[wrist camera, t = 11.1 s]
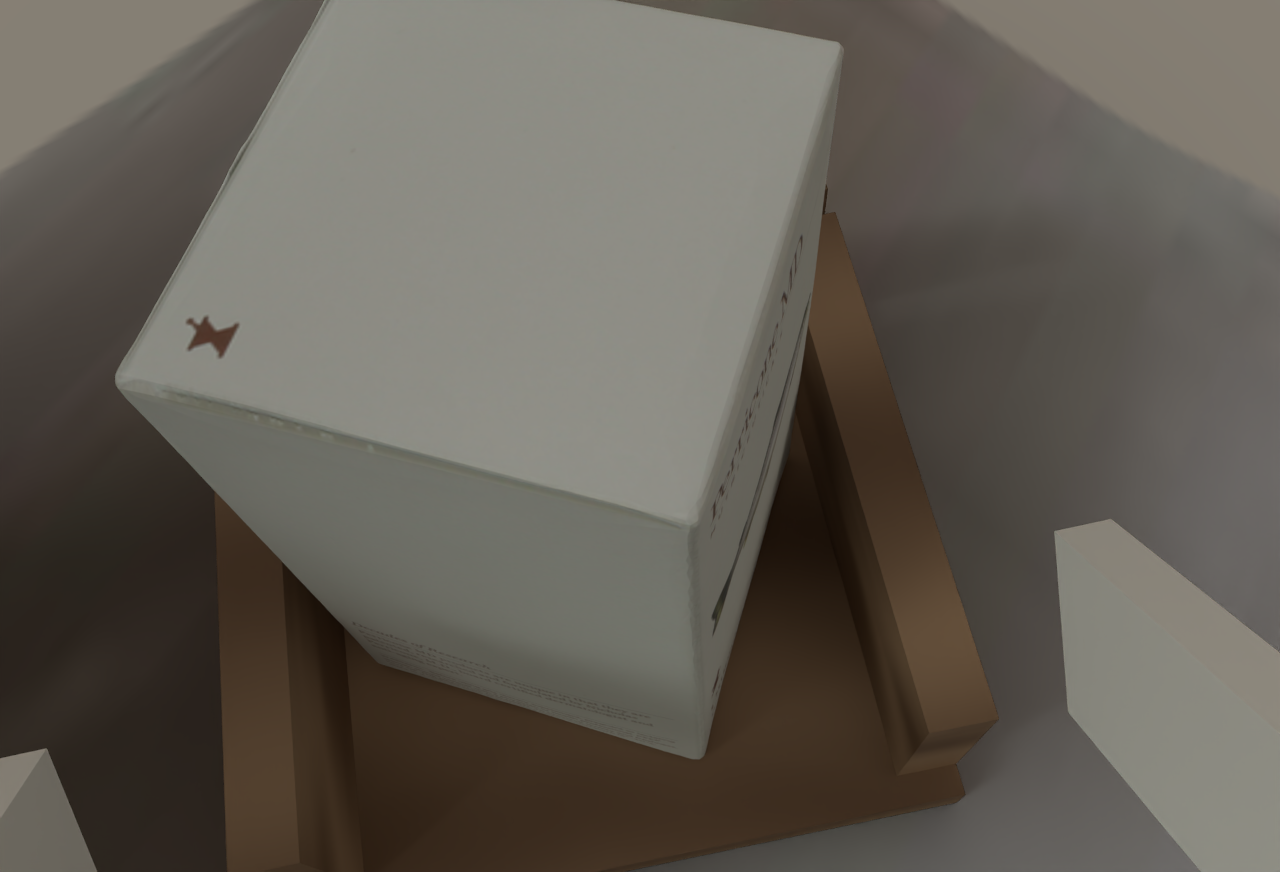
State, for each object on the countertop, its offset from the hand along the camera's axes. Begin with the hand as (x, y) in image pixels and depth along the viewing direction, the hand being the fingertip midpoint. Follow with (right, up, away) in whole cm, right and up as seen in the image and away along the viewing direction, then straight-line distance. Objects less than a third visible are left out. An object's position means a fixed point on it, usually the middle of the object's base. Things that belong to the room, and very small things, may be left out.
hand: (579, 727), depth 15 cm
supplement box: (0, +1, +11) cm, 11 cm away
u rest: (0, +1, +11) cm, 11 cm away
